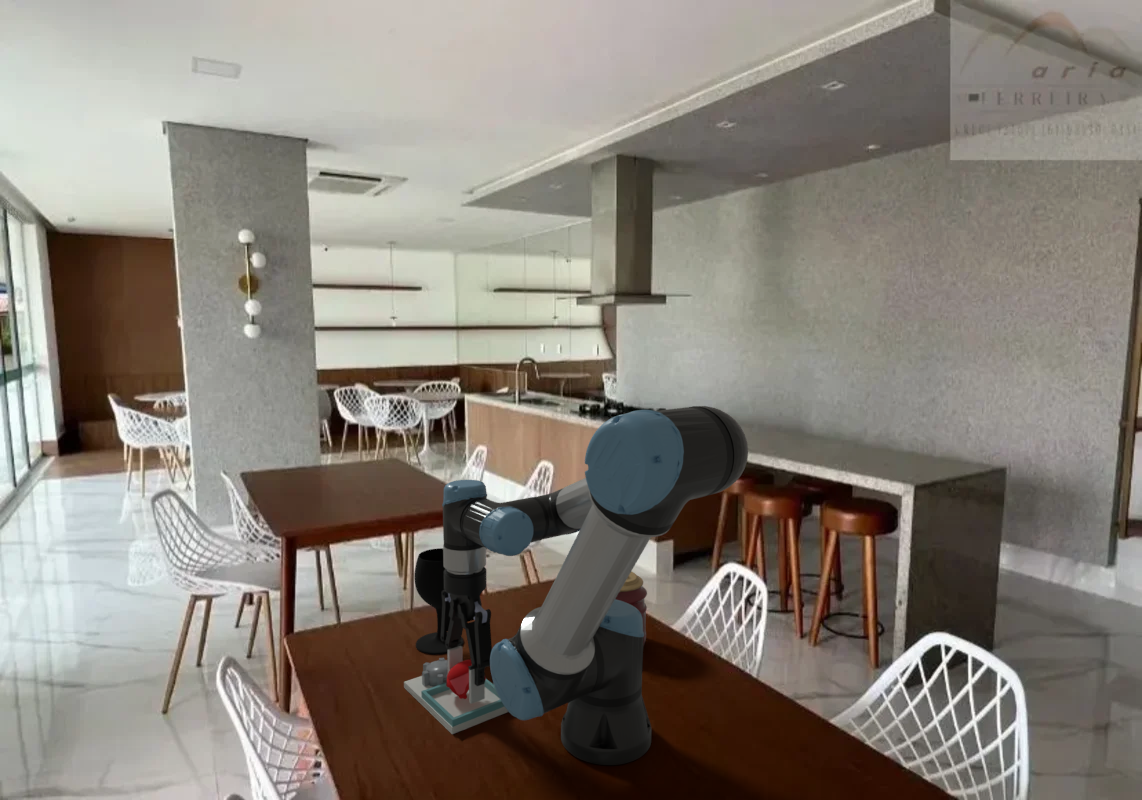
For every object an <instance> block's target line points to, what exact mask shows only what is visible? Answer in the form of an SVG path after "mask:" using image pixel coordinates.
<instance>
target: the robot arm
mask: <svg viewBox="0 0 1142 800" xmlns="http://www.w3.org/2000/svg"><path fill="white" fill-rule="evenodd" d="M748 445H749V444H748V441H747V438H746V435H745V432H744V431H743V429H742V427H741V426H740V424H739V423H738V422H737V421H736V419H734V417H732V416H731V415H729V413H726V412H725V411H724V410H721V409H719V408H717V407H711V406H706V405H698V406H697V405H696V406H687V407H686V406H685V407H679V408H677V407H676V408H669V409H660V410H654V409H653V410H652V409H639V410H638V409H637V410H633V411H630V412H626V413H623V414H622V413H621V414H619V415H616V416H613V417H611V418H609V419H607V420H606V421H604V422H603V423H602V424H601V425H600V426H599V427H598V428H597V429H596V430H595V432H594V433H593V435H592V436H591V438H590V441H589V442H588V445H587V448H586V452H585V457H584V465H587V470H585V471H584V476H585V477H584V478H583V479H579V480H578V481H576V482H574V483H572V484H569V485H567V486H564V487H563V488H560V489H557V490H555V491H554V492H551V493H548V494H547V493H546V494H543V495H537V496H530V497H526V498H521V499H515V500H510V501H504V502H496V501H493V500H490V499H489V498H487V497H488V492H487V486H486V484H485V482H483V481H481V480H477V479H458V480H452V481H449V482H448V483H446V484H445V485H444V487H443V500H442V501H443V502H442V504H441V505H442V526H443V527H442V529H443V532H442V534H443V546H442V547H443V565H444V568H445V570H444V590H443V591H442V592H441V594H442V619H441V640H442V641H445V646H446V648H448V650H447V652H448V653H447V660H448V672H449V671H450V669H451V668H452V667H453V666H455V665H456V664H458V663H459V662H462V661H464V660H463V659H464V658H463V657H464V656H463V645H464V643H463V641H462V640H461V637H463V636H462V635H463V631H464V630H465V635H466V639H467V646H468V650H469V657H470V659H471V663H472V665H471V666H468V668H469V702H470V703H471V704H472V703H475V702H477V701H480V700H482V699H485V677H486V668H488V667H489V668H490V673H491V674H490V675H491V679H492V684H494V686H495V689H496V691H497V694H498V696H499V698H500V700H501V702H502V703H503V705H504V706H505V708H506V709H507V710H508V711H509V712H508V713H509V714H510V715H511V716H513V717H514V718H516V719H518V720H520V721H529V720H531V719H534V718H537V717H540V718H541V717H542V716H543V715H544V714H546V713H548V712H550V711H553V710H555V709H557V708H559V707H561V706H564V705H566V704H567V707H566V711H565V713H564V714H563V717H562V720H561V724H560V740H561V743H562V745H563V747H564V748H565V750H566V751H568V753H569V754H571V755H572V756H574V758H576V759H579V760H581V761H584V762H586V763H588V764H589V763H590V764H594V765H602V766H619V765H624V764H627V763H632V762H633V761H636V760H639V759H640V758H641V757H643V756H645V754H646V753H647V752H648V750H649V749H650V747H651V746H652V745H651V743H652V724H651V722H650V718H649V715H648V711H647V708H646V704H645V700H644V698H643V695H642V694H643V693H642V692H643V689H642V686H643V662H644V661H643V658H644V653H643V652H644V647H643V637H644V632H643V620H642V615H641V613H640V612H639V610H638V609H637V608H635V607H634V606H632V605H630V604H628V603H626V602H623V601H620V600H616V599H615V598H616V597H617V595H618V593H619V592H620V590H621V588H622V586H623V585H624V583H625V581H626V579H627V578H628V576H629V574H630V573H631V572H633V569H634V567H635V565H636V564H637V563H638V560H640V557H641V556H642V554H643V552H644V550H645V549H646V547H647V545H648V544H649V542H650V540H651V538H655V537H656V538H657V537H660V536H663V535H665V534H667V533H668V532H669V531H670V530H671V528H672V527H673V524H674V523H675V522H676V520H677V518H678V516H679V515H680V513H681V511H682V510H683V508H684V507H685V505H686V504H687V503H688V502H689V501H690V500H694V499H699V498H703V497H706V496H707V497H708V496H711V495H715V494H718V493H721V492H723V491H725V490H727V489H728V488H729V489H730V487H731V486H733V484H735V483H736V482H737V481H738V480H739V478H740V477H741V476H742V474H743V472H744V470H745V468H746V466H747V462H748V457H749V447H748ZM576 533H578V534H577V535H576V538H575V539H574V542H573V544H572V545H571V547H570V548H569V549H570V550H569V551H568V553H567V555H566V557H565V559H564V561H563V563H562V565H561V568H560V569H559V571H558V573H557V576H556V578H555V579H554V580H553V581H554V582H553V583H552V585H551V587H550V589H549V591H548V593H547V595H546V597H545V599H544V601H543V603H542V604H541V606H539V607H536V608H534V609H532V610H531V611H529V612H528V613H527V614H526V615H525V617H524V618H523V620H522V622H521V623H520V626H519V627H518V630H517V632H516V634H515V635H514V636H512V637H510V638H504V639H502V640H501V641H499V642H497V643H495V644H494V645H492V632H491V619H492V618H491V617H492V611H491V610H490V609H489V608H487V609H484V607H482V606H483V604H482V600H481V594H482V593H483V592H484V591H485V589H486V588H487V568H486V567H485V566H486V565H487V550H489V551H490V552H492V553H496V554H499V555H503V556H508V557H513V556H518V555H521V553H522V552H523V551H524V550H526V549H527V548H528V547H529V546H530V544H531V543H534V542H535V543H536V542H539V541H542V540H547V539H551V538H556V537H560V536H564V535H568V536H569V535H572V534H576ZM446 632H447V633H446ZM459 644H463V645H462V646H458V647H457V645H459Z"/></svg>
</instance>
